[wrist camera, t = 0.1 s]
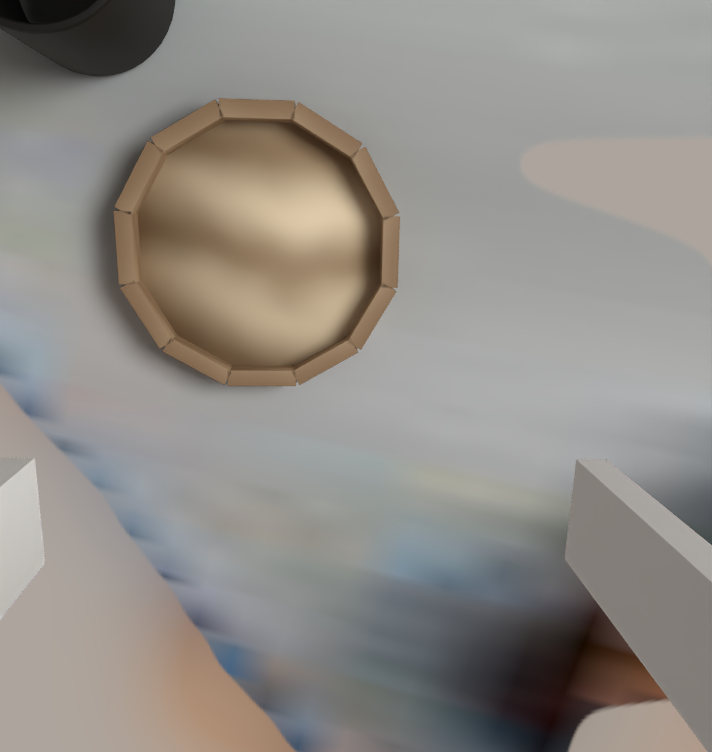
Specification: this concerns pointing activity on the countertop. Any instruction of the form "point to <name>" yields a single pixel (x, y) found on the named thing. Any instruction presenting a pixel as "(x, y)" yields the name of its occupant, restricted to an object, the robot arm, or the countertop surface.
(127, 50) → the mug
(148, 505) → the countertop surface
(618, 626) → the robot arm
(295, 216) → the tray
